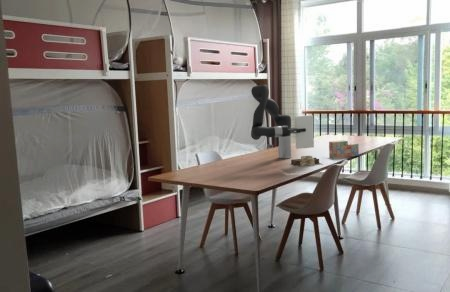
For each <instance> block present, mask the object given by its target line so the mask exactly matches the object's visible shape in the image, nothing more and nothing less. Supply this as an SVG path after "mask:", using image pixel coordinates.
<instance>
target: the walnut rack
mask: <svg viewBox="0 0 450 292" xmlns="http://www.w3.org/2000/svg"><path fill="white" fill-rule="evenodd" d="M312 158H313V159H314V160H315V165H314V166H318V165H319V166H321V165H324V163H321V162H320V158H317V157H312ZM300 162H301V158H296V159H291V160H290V165H291V166H292V167H294V168H296V167H297V168H298V167H302V166H301V165H300ZM310 166H312V165H309V167H310Z"/></svg>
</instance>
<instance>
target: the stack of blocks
mask: <svg viewBox="0 0 450 292" xmlns="http://www.w3.org/2000/svg"><path fill="white" fill-rule="evenodd" d="M348 142H349V141H348V140H346V139H345V140H344V139H343V140H342V139H341V140H333V141H329V142H328V151H329V158H331V159H340V158H350V157H357V156H360V155H359V154H360V153H359V150H360V149H359V143H355V142H352V143H350V142H349V143H348Z"/></svg>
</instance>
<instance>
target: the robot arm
mask: <svg viewBox="0 0 450 292" xmlns="http://www.w3.org/2000/svg"><path fill="white" fill-rule="evenodd" d="M250 91H251V95H252V97H253V98H254V100H256V101H257V102H258V103H259V104H258V105H257V107H256V108H255V110H254V111H253V115H252V126H251V129H250V130H251V132H250V137H251V138H252V140H256V141H257V140H259V139H261V137H266V138H278V147H277V149H278V153H277V154H278V159H291V158H292V139H291V138H292V137H291V136H292V135H293V134H294V135H295V133H301V132H306V129H305V128H303V129H300V128H299V129H297V128H295V127H292V118H291V116H290V114H280V113H279V111H280V106H279V104H278V103H277V101H275V100H274V99H273V98H270V97H269V94H270V90H269V86H268V85H267V84H260V85H255V86H253V87H252V88H251V90H250ZM265 111H266V112H267V113H268V115H270V117H271V118H272V120H273V121H274V123H275V125H276V126H275V125H274V126H269V127H267V126H263V125H264V117H265V116H264V115H265ZM298 130H299V132H298Z"/></svg>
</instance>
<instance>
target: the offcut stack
mask: <svg viewBox="0 0 450 292" xmlns="http://www.w3.org/2000/svg"><path fill="white" fill-rule="evenodd" d="M313 158H314V157H313V155H301V156H300V159H301V162H300V165H301V166H300V167H308V166H309V165H311V166H316V165H315V160H314V159H313ZM309 167H310V166H309Z"/></svg>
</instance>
